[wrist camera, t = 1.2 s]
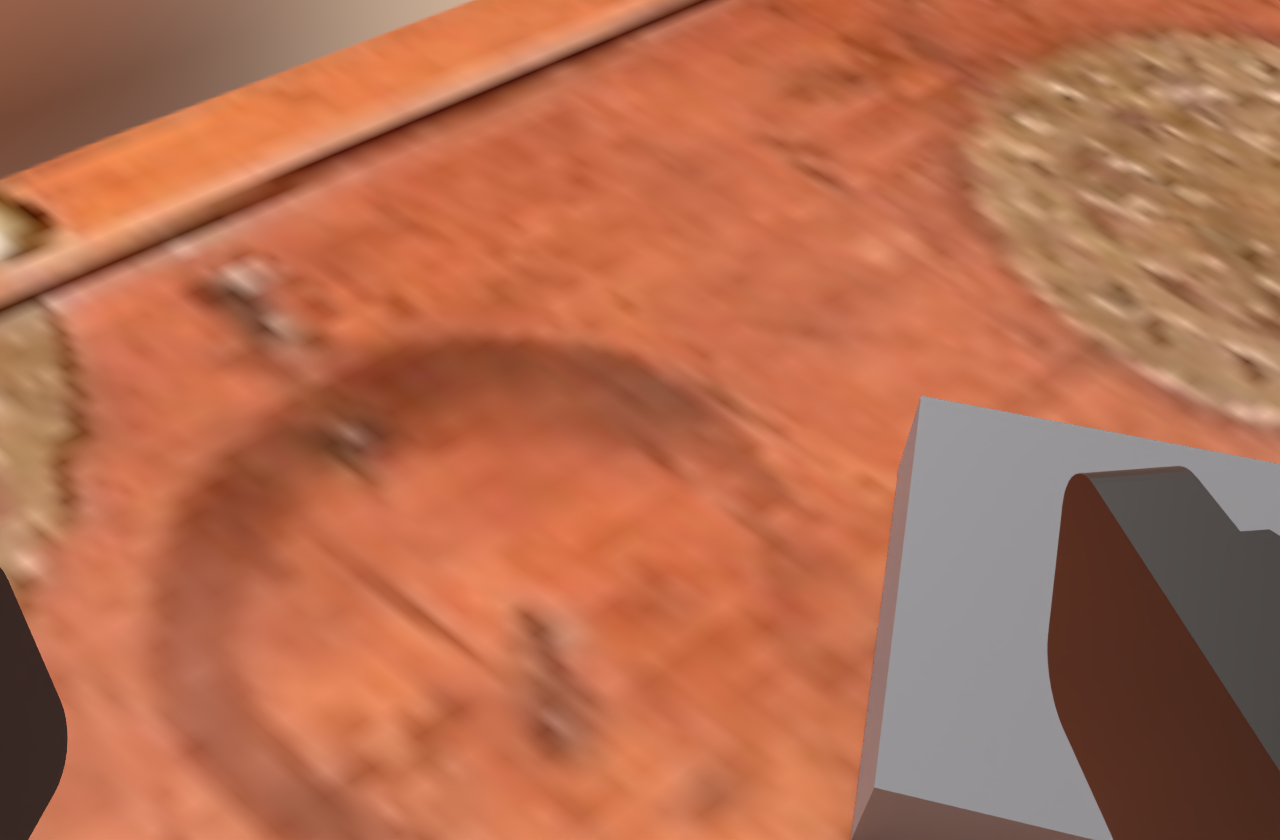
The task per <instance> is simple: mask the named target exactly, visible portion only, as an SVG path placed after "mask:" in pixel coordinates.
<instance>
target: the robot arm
mask: <svg viewBox="0 0 1280 840" xmlns="http://www.w3.org/2000/svg"><path fill="white" fill-rule="evenodd" d="M1047 656H1048V670H1049V678H1050V684H1051V690H1052V695H1053V699H1054V703H1055V707H1056V711H1057V714H1058V717H1059V720H1060V722H1061V725H1062V727H1063V729H1064V732H1065V734H1066V736H1067V738H1068V740H1069V743H1070V745H1071V747H1072V749H1073V752H1074V754H1075V756H1076V758H1077V760H1078V763H1079V765H1080V767H1081V769H1082V771H1083V774H1084V776H1085V778H1086V780H1087V782H1088V785H1089V787H1090V789H1091V791H1092V794H1093V796H1094V798H1095V800H1096V802H1097V805H1098V807H1099V809H1100V811H1101V813H1102V816H1103V818H1104V820H1105V822H1106V824H1107V827H1108V829H1109V831H1110V833H1111V836H1112V838H1113V840H1280V536H1279V535H1278V534H1276V533H1275V532H1273V531H1271V530H1270V529H1266V530H1252V531H1240V530H1239V529H1238V528H1237V527H1236V525H1235V524H1234V523H1233V522H1232V520H1231V519H1230V518H1229V517H1228V515H1227V514H1226V513H1225V512H1224V510H1223V509H1222V508H1221V507H1220V505H1219V504H1218V503H1217V502H1216V500H1215V499H1214V498H1213V497H1212V495H1211V494H1210V493H1209V492H1208V490H1207V489H1206V488H1205V487H1204V485H1203V484H1202V483H1201V482H1200V480H1199V479H1198V478H1197V477H1196V476H1195V475H1194V474H1193V473H1192V472H1191V471H1190V470H1189V469H1187V468H1186V467H1182V466H1170V467H1157V468H1143V469H1130V470H1117V471H1103V472H1090V473H1078V474H1075V475H1074V476H1072V477H1071V479H1070V480H1069V482H1068V484H1067V487H1066V489H1065V493H1064V498H1063V504H1062V513H1061V522H1060V531H1059V540H1058V549H1057V558H1056V567H1055V576H1054V585H1053V594H1052V603H1051V612H1050V621H1049V630H1048V642H1047ZM66 753H67V725H66V718H65V713H64V709H63V706H62V704H61V701H60V698H59V696H58V694H57V692H56V689H55V687H54V685H53V682H52V680H51V678H50V675H49V673H48V671H47V669H46V666H45V664H44V662H43V659H42V657H41V655H40V652H39V650H38V648H37V646H36V643H35V641H34V639H33V636H32V634H31V632H30V629H29V627H28V625H27V623H26V620H25V618H24V616H23V613H22V611H21V609H20V606H19V604H18V602H17V599H16V597H15V595H14V593H13V590H12V588H11V586H10V583H9V581H8V579H7V577H6V575H5V573H4V572H3V570H2V569H1V568H0V840H28V839H29V837H30V835H31V834H32V832H33V830H34V828H35V826H36V825H37V823H38V821H39V819H40V818H41V816H42V814H43V812H44V810H45V809H46V807H47V805H48V803H49V802H50V800H51V798H52V796H53V794H54V793H55V791H56V788H57V786H58V784H59V782H60V779H61V776H62V773H63V769H64V765H65V760H66Z"/></svg>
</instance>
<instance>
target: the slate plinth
mask: <svg viewBox="0 0 1280 840" xmlns="http://www.w3.org/2000/svg"><path fill="white" fill-rule="evenodd" d="M1170 466H1182V467H1186V468H1187V469H1189V470H1190V471H1191V472H1192V473H1193V474H1194V475H1195V476H1196V477H1197V478H1198V479H1199V480H1200V482H1201V483H1202V484H1203V485H1204V487H1205V488H1206V489H1207V490H1208V492H1209V493H1210V494H1211V495H1212V497H1213V498H1214V499H1215V500H1216V502H1217V503H1218V504H1219V505H1220V507H1221V508H1222V509H1223V510H1224V512H1225V513H1226V514H1227V515H1228V517H1229V518H1230V519H1231V520H1232V522H1233V523H1234V524H1235V525H1236V527H1237V528H1238V529H1239V530H1240V531H1252V530H1266V529H1270V530H1271V531H1273V532H1275V533H1276V534H1278V535H1279V536H1280V464H1277V463H1272V462H1267V461H1261V460H1256V459H1251V458H1246V457H1240V456H1235V455H1230V454H1225V453H1219V452H1214V451H1209V450H1204V449H1198V448H1193V447H1188V446H1183V445H1177V444H1172V443H1167V442H1162V441H1156V440H1151V439H1146V438H1141V437H1135V436H1130V435H1125V434H1120V433H1114V432H1109V431H1104V430H1099V429H1093V428H1088V427H1083V426H1078V425H1072V424H1067V423H1062V422H1057V421H1051V420H1046V419H1041V418H1036V417H1030V416H1025V415H1020V414H1015V413H1009V412H1004V411H999V410H994V409H988V408H983V407H978V406H973V405H967V404H962V403H957V402H952V401H946V400H941V399H936V398H931V397H925V396H921V398H920V401H919V404H918V408H917V411H916V414H915V417H914V421H913V424H912V427H911V430H910V433H909V437H908V440H907V443H906V446H905V449H904V453H903V456H902V459H901V462H900V465H899V470H898V478H897V486H896V493H895V501H894V509H893V517H892V524H891V532H890V540H889V547H888V555H887V563H886V571H885V578H884V586H883V594H882V602H881V609H880V617H879V625H878V632H877V640H876V648H875V656H874V663H873V671H872V679H871V686H870V694H869V702H868V710H867V717H866V725H865V733H864V741H863V748H862V756H861V764H860V771H859V779H858V787H857V795H856V802H855V810H854V818H853V826H852V833H851V840H1113V838H1112V836H1111V833H1110V831H1109V829H1108V827H1107V824H1106V822H1105V820H1104V818H1103V816H1102V813H1101V811H1100V809H1099V807H1098V805H1097V802H1096V800H1095V798H1094V796H1093V794H1092V791H1091V789H1090V787H1089V785H1088V782H1087V780H1086V778H1085V776H1084V774H1083V771H1082V769H1081V767H1080V765H1079V763H1078V760H1077V758H1076V756H1075V754H1074V752H1073V749H1072V747H1071V745H1070V743H1069V740H1068V738H1067V736H1066V734H1065V732H1064V729H1063V727H1062V725H1061V722H1060V720H1059V717H1058V714H1057V711H1056V707H1055V703H1054V699H1053V695H1052V690H1051V684H1050V678H1049V670H1048V656H1047V642H1048V630H1049V621H1050V612H1051V603H1052V594H1053V585H1054V576H1055V567H1056V558H1057V549H1058V540H1059V531H1060V522H1061V513H1062V504H1063V498H1064V493H1065V489H1066V487H1067V484H1068V482H1069V480H1070V479H1071V477H1072V476H1074V475H1075V474H1078V473H1090V472H1103V471H1117V470H1130V469H1143V468H1157V467H1170Z"/></svg>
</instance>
